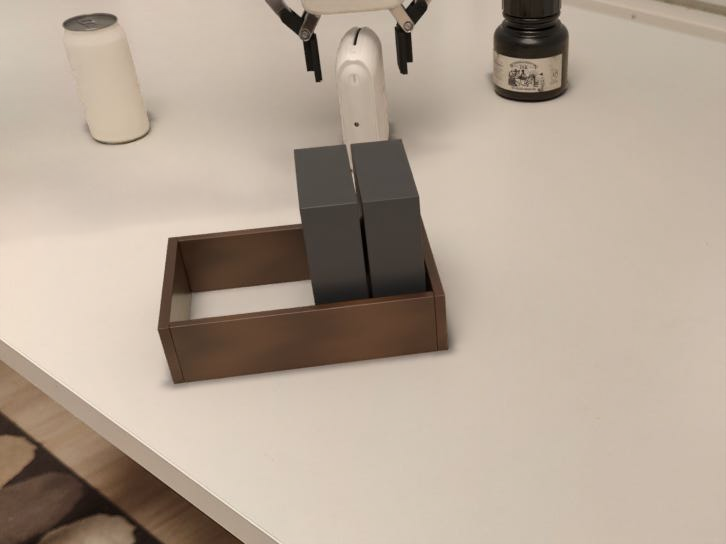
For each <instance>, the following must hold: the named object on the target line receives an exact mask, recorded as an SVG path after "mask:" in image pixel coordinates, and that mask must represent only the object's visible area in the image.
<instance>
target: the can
mask: <svg viewBox="0 0 726 544" xmlns="http://www.w3.org/2000/svg"><path fill="white" fill-rule="evenodd" d="M118 20H119V19H118V16H117V15H115V14H113V13H109V12H90V13H83V14H79V15H74V16H71V17H69V18H67V19H65V20H64V21H63V22H62V23H61V24H62V28H63V37H62V42H63V43H62V44H63V47H64V50H65V54H66V56H67V60H68V64H69V68H70V71H71V73H72V77H73V80H74V83H75V87H76V90H77V92H78V96H79V99H80V103H81V106H82V110H83V113H84V116H85V119H86V122H87V126H88V129H89V131H90V135H91V137H92V138H93V139H95V140H96V141H97V142H99V143H101V144H107V145H120V144H127V143H132V142H134V141H138V140H139V139H141V138H143V137H145V136H146V135H147V134H148V132H149V130H150V127H151V126H150V120H149V116H148V113H147V110H146V105H145V101H144V98H143V94H142V90H141V86H140V82H139V78H138V74H137V71H136V66H135V63H134V59H133V55H132V52H131V47H130V44H129V40H128V37H127V34H126V31H125V30H124V28H123V27H122V26H121V24H120V23H119V21H118Z"/></svg>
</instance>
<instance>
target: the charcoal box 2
mask: <svg viewBox="0 0 726 544" xmlns="http://www.w3.org/2000/svg"><path fill="white" fill-rule="evenodd" d="M350 148H351V157H352V165H353V171H352V172H353V173H352V175H353V182H354V187H355V192H356V197H357V202H358V210H359V219H360V227H361V236H362V245H363V253H364V262H365V270H366V279H367V287H368V296H369V299H371V298H380V297H388V296H397V295H405V294H414V293H422V292H426V284H425V270H424V256H423V241H422V227H421V217H422V214H421V201H420V194H419V190H418V187H417V184H416V182H415V178H414V174H413V171H412V168H411V165H410V161H409V158H408V155H407V152H406V148H405V145H404V142H403V140H402V138H397V139H388V140H385V141H375V142H365V143H354V144H350Z"/></svg>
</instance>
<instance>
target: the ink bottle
mask: <svg viewBox="0 0 726 544" xmlns="http://www.w3.org/2000/svg"><path fill="white" fill-rule="evenodd" d="M561 9H562V0H501V10H502V11H501V15H502V17H503V20H502V22H501V23H500V24H499V25H498V26H497V27H496V28H495V30H494V32H493V38H492V39H493V40H492V42H493V44H492V45H493V48H492V80H493V88H494V90H495V92H496V93H497V94H499V95H500V96H502V97H505V98H508V99H513V100H518V101H519V100H520V101H545V100H549V99H552V98H555V97H558V96H560V94H563V92H564V91H565V90H566V88H567V87H568V73H569V50H570V49H569V48H570V47H569V46H570V32H569V30H568V28H567V26H566V25H565V24H564V23H562V21H561V19H560V16H561V13H562V11H561Z"/></svg>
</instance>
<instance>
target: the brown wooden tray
mask: <svg viewBox="0 0 726 544" xmlns="http://www.w3.org/2000/svg"><path fill="white" fill-rule="evenodd" d="M421 227H422V241H423V256H424V270H425V284H426V292H422V293H414V294H405V295H397V296H388V297H380V298H371V299H370V298H369V299H363V300H354V301H346V302H337V303H329V304H320V305H315V304H312V305H305V306H303V305H302V306H296V307H286V308H279V309H271V310H261V311H254V312H245V313H244V312H243V313H237V314H227V315H226V314H225V315H219V316H209V317H202V318H194V319H190V316H191V305H192V294H197V293H198V294H199V293H205V292H206V293H207V292H215V291H222V290H223V291H224V290H231V289H233V290H234V289H241V288H249V287H258V286H259V287H260V286H267V285H268V286H269V285H277V284H285V283H292V282H293V283H294V282H302V281H303V282H304V281H311V278H310V272H309V266H308V259H307V253H306V247H305V241H304V235H303V229H302V223H294V224H293V223H292V224H283V225H274V226H265V227H256V228H247V229H238V230H228V231H217V232H209V233H201V234H199V233H198V234H190V235H180V236H171V237H167V245H166V253H165V263H164V271H163V279H162V288H161V295H160V296H161V297H160V303H159V304H160V305H159V311H158V312H159V313H158V321H157V329H156V331H157V332H158V337H159V339H160V342H161V343H160V344H161V345H162V346H161V347H162V350H163V353H164V356H165V359H166V363H167V366H168V370H169V373H170V377H171V380H172V383H173V385H178V384H185V383H186V384H187V383H193V382H194V383H195V382H203V381H210V380H219V379H227V378H234V377H236V378H237V377H243V376H250V375H259V374H267V373H274V372H282V371H283V372H285V371H290V370H300V369H305V368H306V369H309V368H315V367H322V366H324V367H325V366H330V365H339V364H346V363H355V362H363V361H370V360H379V359H380V360H381V359H386V358H387V359H388V358H396V357H402V356H403V357H404V356H410V355H412V356H413V355H419V354H426V353H436V352H442V351H443V352H444V351H448V350H449V340H448V338H449V337H448V323H447V321H448V320H447V304H446V294H445V291H444V287H443V284H442V280H441V277H440V274H439V270H438V267H437V264H436V260H435V257H434V254H433V250H432V248H431V244H430V240H429V237H428V234H427V230H426V228H425V223H424V220H423V217H422V216H421Z"/></svg>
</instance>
